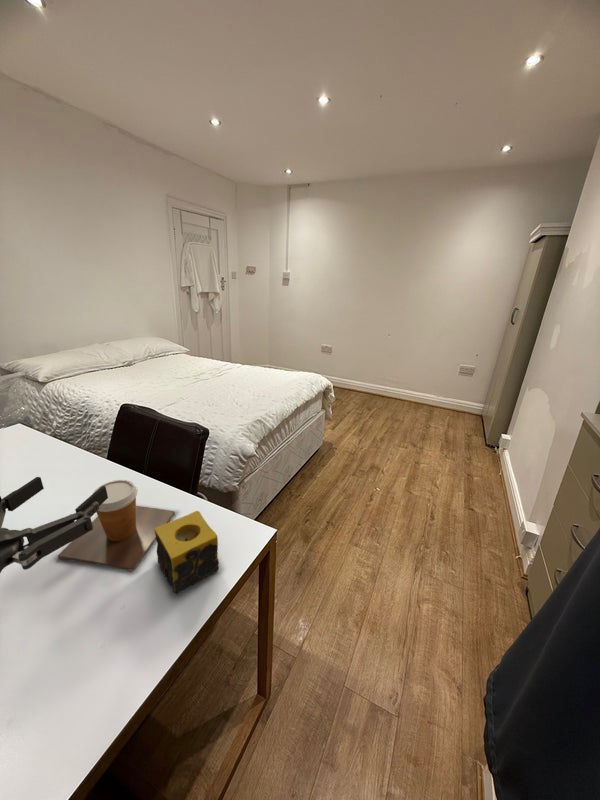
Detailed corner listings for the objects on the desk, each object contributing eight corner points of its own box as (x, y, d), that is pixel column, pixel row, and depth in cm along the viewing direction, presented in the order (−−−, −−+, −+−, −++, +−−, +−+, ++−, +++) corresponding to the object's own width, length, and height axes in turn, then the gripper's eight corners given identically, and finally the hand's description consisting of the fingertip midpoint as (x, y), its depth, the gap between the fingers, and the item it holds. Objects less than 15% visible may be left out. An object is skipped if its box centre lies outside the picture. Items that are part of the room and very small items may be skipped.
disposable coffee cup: (89, 540, 75) (78, 498, 71) (121, 513, 84) (114, 475, 79) (122, 551, 73) (113, 509, 68) (151, 523, 81) (145, 483, 77)
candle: (157, 562, 71) (152, 528, 68) (200, 541, 78) (197, 508, 74) (174, 597, 64) (169, 560, 61) (220, 570, 70) (218, 535, 67)
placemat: (58, 558, 71) (57, 555, 71) (112, 504, 88) (112, 502, 87) (133, 570, 69) (133, 568, 69) (174, 513, 86) (174, 511, 86)
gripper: (-123, 591, 45) (19, 494, 64) (38, 622, 42) (135, 511, 62) (-148, 551, 42) (8, 462, 62) (22, 582, 39) (130, 479, 59)
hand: (72, 487), depth 62 cm, fingers open, 13 cm apart
